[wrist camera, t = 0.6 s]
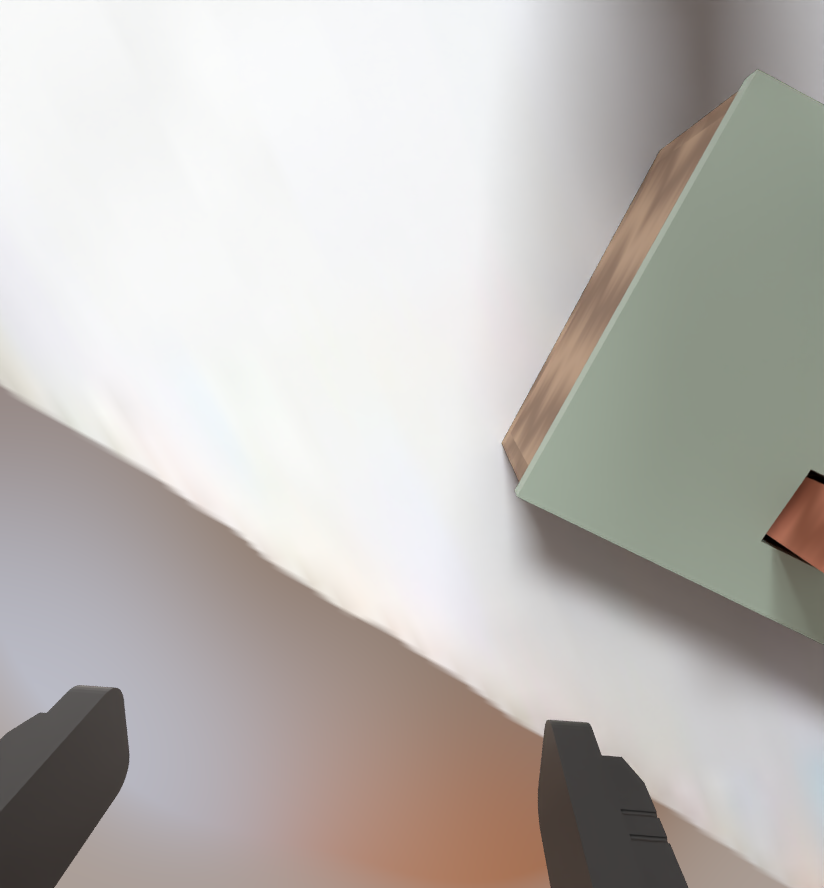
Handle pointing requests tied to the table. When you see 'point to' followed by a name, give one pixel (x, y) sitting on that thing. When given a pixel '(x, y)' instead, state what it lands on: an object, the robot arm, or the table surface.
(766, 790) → the table surface
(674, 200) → the toolbox
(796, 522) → the pin
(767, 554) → the toolbox lid
